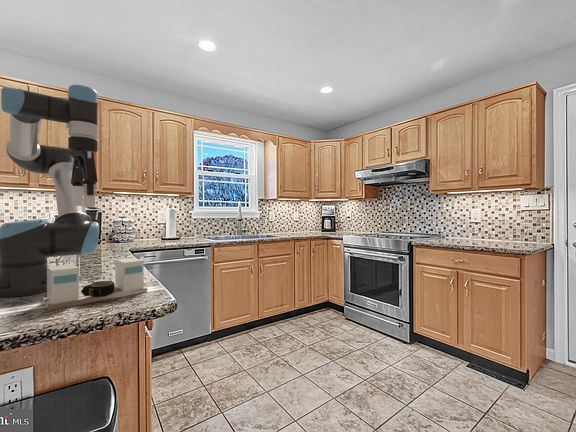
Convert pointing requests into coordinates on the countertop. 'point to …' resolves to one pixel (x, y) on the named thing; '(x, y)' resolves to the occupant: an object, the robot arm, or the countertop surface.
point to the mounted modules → (67, 279)
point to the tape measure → (99, 289)
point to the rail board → (91, 298)
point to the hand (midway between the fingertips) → (83, 206)
